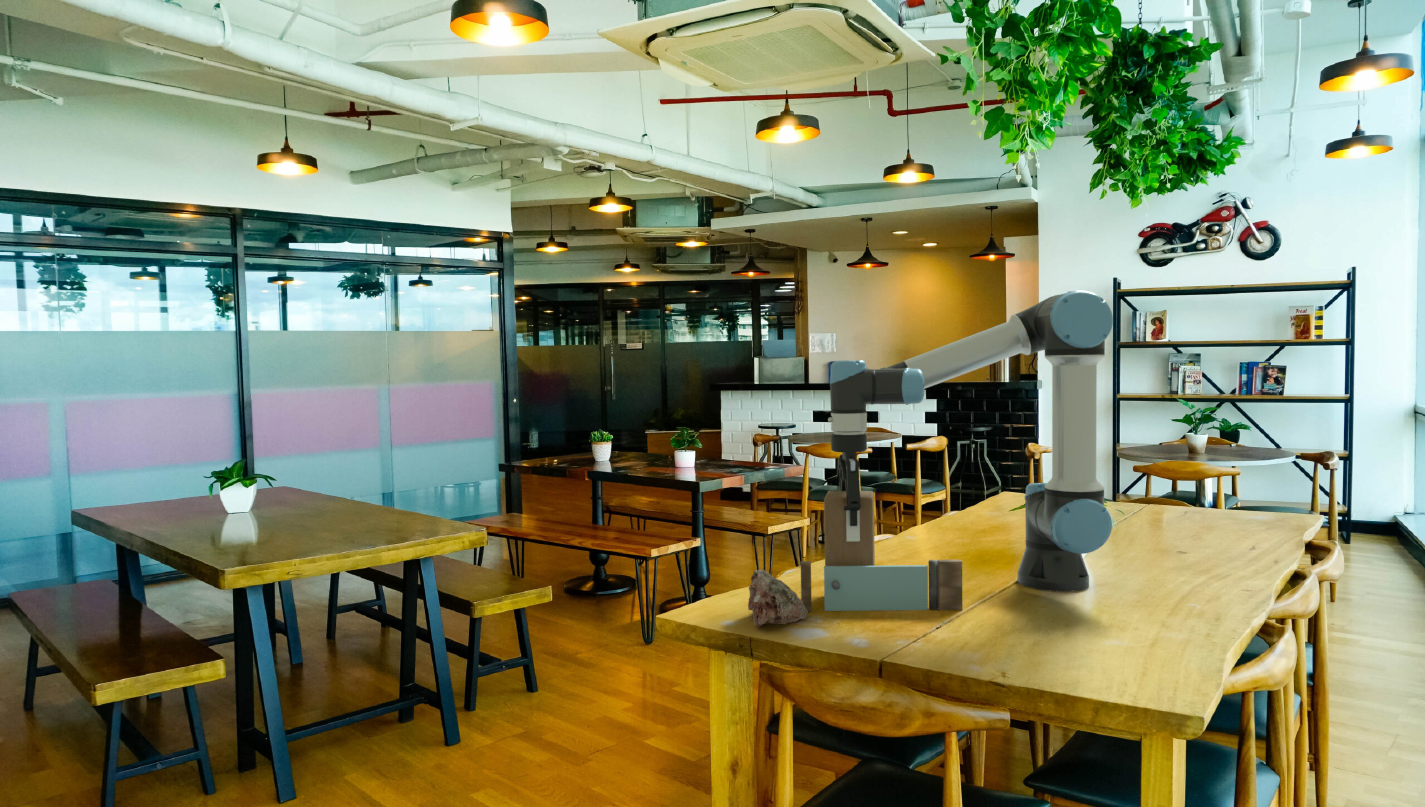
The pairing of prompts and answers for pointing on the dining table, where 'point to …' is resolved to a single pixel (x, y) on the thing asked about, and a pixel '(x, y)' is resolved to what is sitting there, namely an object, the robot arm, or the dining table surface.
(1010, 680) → the dining table surface
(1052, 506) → the robot arm
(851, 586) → the door
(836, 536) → the wooden block
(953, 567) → the doorframe
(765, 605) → the rock
